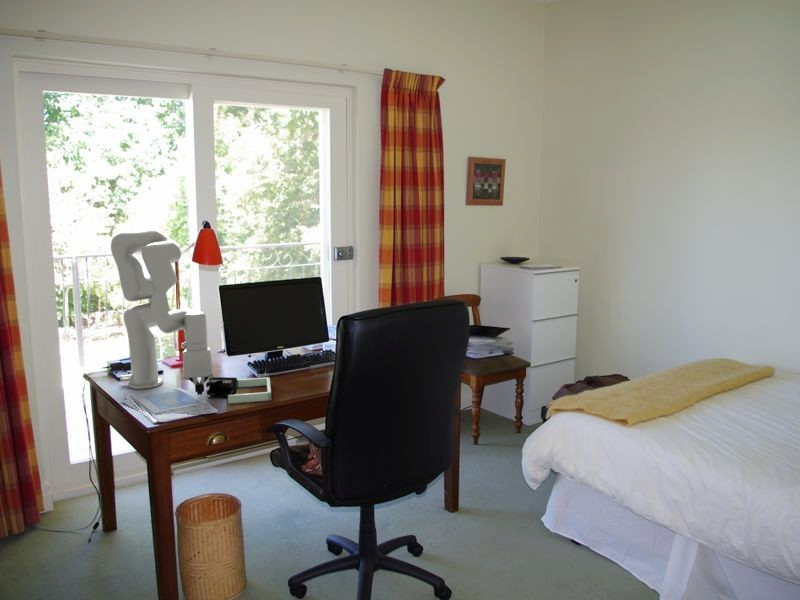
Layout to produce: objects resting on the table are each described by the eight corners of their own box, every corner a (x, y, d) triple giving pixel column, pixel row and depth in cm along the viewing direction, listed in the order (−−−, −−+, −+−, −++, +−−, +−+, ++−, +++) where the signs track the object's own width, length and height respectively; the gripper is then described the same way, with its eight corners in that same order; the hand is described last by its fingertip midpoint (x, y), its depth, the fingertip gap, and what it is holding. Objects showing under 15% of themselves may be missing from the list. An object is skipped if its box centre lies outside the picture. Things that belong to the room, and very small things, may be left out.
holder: (228, 403, 234) (227, 396, 233) (229, 386, 252) (229, 380, 251) (271, 400, 237) (271, 392, 237) (269, 383, 255) (269, 377, 254)
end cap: (238, 392, 245) (237, 375, 244) (232, 399, 238) (231, 381, 237) (212, 391, 246) (211, 374, 245) (205, 398, 239) (204, 380, 238)
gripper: (174, 349, 231) (177, 398, 235) (217, 347, 235) (220, 395, 238) (176, 344, 239) (179, 391, 242) (218, 341, 242) (221, 389, 245)
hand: (200, 393), depth 240 cm, fingers closed
